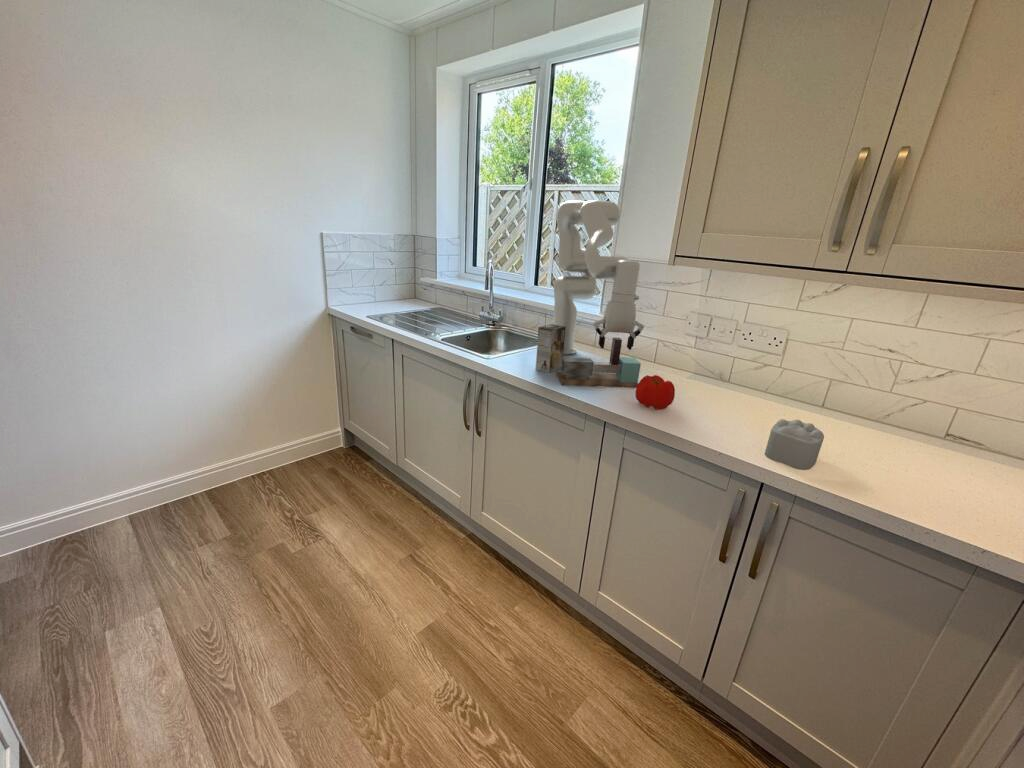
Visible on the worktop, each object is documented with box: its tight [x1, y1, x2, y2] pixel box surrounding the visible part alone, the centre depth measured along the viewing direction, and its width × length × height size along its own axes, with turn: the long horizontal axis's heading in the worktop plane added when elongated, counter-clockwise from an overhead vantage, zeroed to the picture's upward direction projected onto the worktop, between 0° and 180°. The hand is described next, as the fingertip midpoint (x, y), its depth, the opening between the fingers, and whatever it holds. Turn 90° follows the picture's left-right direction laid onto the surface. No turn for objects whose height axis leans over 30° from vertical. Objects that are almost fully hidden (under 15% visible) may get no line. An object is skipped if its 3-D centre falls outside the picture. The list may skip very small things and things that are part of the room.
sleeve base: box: [556, 356, 639, 389], centre depth 156 cm, size 27×12×7 cm, turn 93°
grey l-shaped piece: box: [593, 337, 623, 374], centre depth 154 cm, size 16×3×12 cm, turn 93°
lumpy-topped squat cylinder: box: [764, 418, 825, 471], centre depth 109 cm, size 10×13×9 cm
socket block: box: [614, 356, 641, 383], centre depth 156 cm, size 6×7×7 cm
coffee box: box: [535, 323, 566, 374], centre depth 165 cm, size 9×6×16 cm
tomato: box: [635, 374, 676, 411], centre depth 136 cm, size 11×12×9 cm
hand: (615, 347), depth 154 cm, fingers open, 9 cm apart
